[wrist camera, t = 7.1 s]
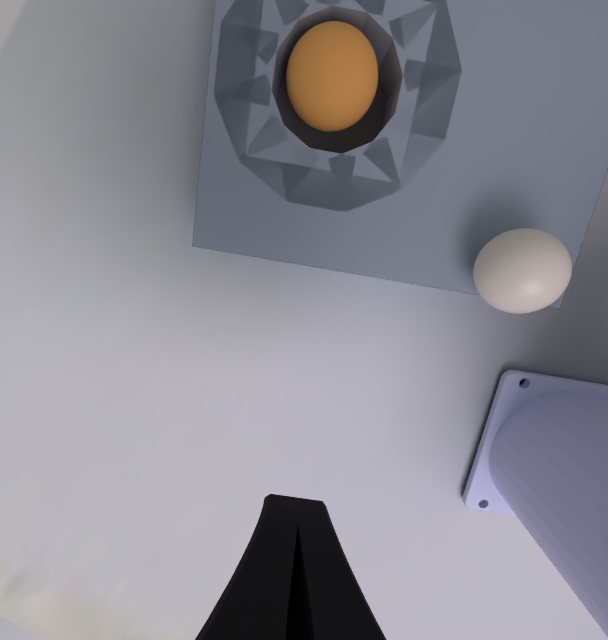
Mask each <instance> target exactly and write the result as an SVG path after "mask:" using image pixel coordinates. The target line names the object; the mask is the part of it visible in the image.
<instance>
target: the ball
mask: <svg viewBox="0 0 608 640" xmlns="http://www.w3.org/2000/svg"><path fill="white" fill-rule="evenodd" d="M377 84H378V63H377V59H376V55H375V52H374V49H373V47H372V45H371V44H370V42H369V40H368V39H367V38H366V36H365V35H364V34H363V33H362V32H361V31H360V30H358V29H357V28H355V27H354V26H352V25H350V24H348V23H344V22H340V21H328V22H324V23H321V24H318V25H316V26H314V27H313V28H311V29H310V30H308V31H307V32H306V33H305V34H304V35H303V36H302V37H301V38H300V39H299V40H298V42H297V43H296V45H295V47H294V49H293V51H292V53H291V55H290V58H289V61H288V66H287V72H286V85H287V92H288V96H289V99H290V102H291V104H292V106H293V108H294V110H295V112H296V113H297V114H298V116H299V117H300V118H301V119H302V120H303V121H304V122H305V123H307V124H308V125H309V126H311V127H313V128H315V129H318V130H320V131H326V132H334V131H340V130H343V129H346V128H348V127H350V126H352V125H353V124H355V123H356V122H357V121H358V120H360V119H361V118H362V116H363V115H364V114H365V113H366V112H367V110H368V109H369V107H370V105H371V103H372V101H373V99H374V96H375V93H376V90H377Z"/></svg>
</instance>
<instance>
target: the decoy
mask: <svg viewBox="0 0 608 640" xmlns="http://www.w3.org/2000/svg"><path fill="white" fill-rule="evenodd" d="M571 274H572V263H571V258H570V255H569V252H568V250H567V249H566V247H565V246H564V245H563V243H562V242H561V241H560V240H559V239H557V238H556V237H555V236H553V235H551V234H550V233H547V232H545V231H542V230H538V229H532V228H520V229H513V230H510V231H506V232H504V233H502V234H499V235H498V236H496V237H494V238H493V239H492V240H490V241H489V242H488V243H487V244H486V245H485V246H484V247H483V248H482V249H481V251H480V252H479V254H478V256H477V258H476V261H475V264H474V268H473V279H474V284H475V287H476V289H477V291H478V293H479V294H480V296H481V297H482V298H483V299H484V300H485V301H486V302H487V303H488V304H489V305H491V306H493V307H494V308H496V309H498V310H501V311H504V312H508V313H517V314H520V313H530V312H534V311H538V310H540V309H543V308H545V307H547V306H549V305H550V304H552V303H553V302H554V301H556V300H557V299H558V298H559V297H560V296H561V295H562V294H563V292H564V291H565V289H566V288H567V286H568V284H569V281H570V278H571Z"/></svg>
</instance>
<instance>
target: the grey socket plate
mask: <svg viewBox="0 0 608 640" xmlns="http://www.w3.org/2000/svg"><path fill="white" fill-rule="evenodd" d="M328 21H340V22H344V23H348V24H350V25H352V26H354V27H355V28H357V29H358V30H360V31H361V32H362V33H363V34H364V35H365V36H366V38H367V39H368V40H369V42H370V44H371V45H372V47H373V49H374V52H375V55H376V59H377V63H378V71H379V75H380V78H381V82H382V85H383V89H384V92H385V96H386V100H387V103H386V108H385V113H384V118H383V123H382V128H381V132H380V133H379V134H378V136H377V137H376V138H375V139H374V141H373V142H370V143H368V144H365V145H363V146H360V147H357V148H355V149H352V150H350V151H347V152H345V153H342V154H340V153H335V152H329V151H324V150H318V149H313V148H309V147H308V146H307V145H306V144H305V143H303V142H302V141H301V140H300V139H299V138H298V137H297V136H296V135H295V134H293V133H292V132H291V131H290V130H289V129H288V128H287V127H286V126H285V125H284V124H283V121H282V118H281V115H280V113H279V110H278V107H277V104H278V97H279V90H280V83H281V79H282V78H283V77H284V75H285V74H286V72H287V66H288V61H289V58H290V55H291V53H292V51H293V49H294V47H295V45H296V43H297V42H298V40H299V39H300V38H301V37H302V36H303V35H304V34H305V33H306V32H307V31H308V30H310V29H311V28H313V27H314V26H316V25H318V24H321V23H324V22H328ZM607 170H608V0H215V10H214V20H213V31H212V41H211V52H210V63H209V73H208V84H207V94H206V105H205V116H204V126H203V137H202V147H201V158H200V168H199V179H198V190H197V200H196V211H195V221H194V232H193V243H192V246H194V247H200V248H206V249H212V250H218V251H224V252H229V253H235V254H241V255H247V256H253V257H259V258H264V259H270V260H276V261H282V262H288V263H294V264H300V265H305V266H311V267H317V268H323V269H329V270H335V271H340V272H346V273H352V274H358V275H364V276H370V277H376V278H381V279H387V280H393V281H399V282H405V283H411V284H416V285H422V286H428V287H434V288H440V289H446V290H451V291H457V292H463V293H469V294H475V295H480V294H479V293H478V291H477V289H476V287H475V284H474V279H473V268H474V264H475V261H476V258H477V256H478V254H479V252H480V251H481V249H482V248H483V247H484V246H485V245H486V244H487V243H488V242H489V241H490V240H492V239H493V238H494V237H496V236H498V235H499V234H502V233H504V232H506V231H510V230H513V229H520V228H532V229H538V230H542V231H545V232H547V233H550V234H551V235H553V236H555V237H556V238H557V239H559V240H560V241H561V242H562V243H563V245H564V246H565V247H566V249H567V250H568V252H569V255H570V258H571V263H572V271H573V268H574V266H575V263H576V260H577V257H578V254H579V251H580V248H581V245H582V242H583V240H584V237H585V234H586V231H587V228H588V225H589V222H590V219H591V216H592V214H593V211H594V208H595V205H596V202H597V199H598V196H599V193H600V190H601V188H602V185H603V182H604V179H605V176H606V173H607ZM566 289H567V288H566ZM566 289H565V291H564V292H563V294H562V295H561V296H560V297H559V298H558V299H557V300H556V301H554V302H553V303H552V304H550V305H549V306H547V307H551V308H557V309H560V306H561V303H562V300H563V297H564V294H565V292H566Z"/></svg>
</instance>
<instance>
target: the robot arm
mask: <svg viewBox="0 0 608 640" xmlns="http://www.w3.org/2000/svg"><path fill="white" fill-rule="evenodd" d="M522 379H525V382H524V383H523V384H522V385H519V382H520V381H521V380H522ZM462 500H463V503H464V504H465V506H466V507H467V508H468V509H471V510H476V511H483V512H490V513H497V514H504V515H511V516H517V517H518V518H519V520H520V521H521V522H522V524H523V525H524V526H525V528H526V529H527V530H528V532H529V533H530V534H531V536H532V537H533V538H534V540H535V541H536V542H537V544H538V545H539V546H540V548H541V549H542V550H543V552H544V553H545V554H546V556H547V557H548V558H549V559H550V561H551V562H552V563H553V565H554V566H555V567H556V569H557V570H558V571H559V573H560V574H561V575H562V577H563V578H564V579H565V581H566V582H567V583H568V585H569V586H570V587H571V589H572V590H573V591H574V593H575V594H576V595H577V597H578V598H579V599H580V601H581V602H582V603H583V605H584V606H585V607H586V609H587V610H588V611H589V613H590V614H591V615H592V617H593V618H594V619H595V621H596V622H597V623H598V625H599V626H600V627H601V628H602V630H603V631H604V632H605V634H606V635H607V636H608V385H605V384H599V383H593V382H586V381H580V380H574V379H568V378H562V377H556V376H549V375H543V374H537V373H531V372H525V371H519V370H508V371H506V372H505V373H503V375H502V376H501V379H500V382H499V385H498V388H497V391H496V394H495V398H494V401H493V404H492V407H491V410H490V413H489V416H488V419H487V422H486V426H485V429H484V432H483V435H482V438H481V441H480V444H479V447H478V450H477V454H476V457H475V460H474V463H473V466H472V469H471V472H470V475H469V478H468V481H467V485H466V488H465V491H464V494H463V498H462ZM481 500H484V501H483V502H481V503H479V502H480V501H481ZM195 640H386V638H385V636H384V634H383V632H382V630H381V629H380V627H379V625H378V623H377V621H376V619H375V617H374V615H373V613H372V611H371V609H370V607H369V605H368V603H367V601H366V599H365V597H364V595H363V593H362V591H361V589H360V587H359V585H358V583H357V580H356V578H355V576H354V574H353V572H352V570H351V568H350V566H349V563H348V561H347V559H346V557H345V554H344V552H343V549H342V547H341V545H340V542H339V540H338V538H337V535H336V532H335V530H334V527H333V525H332V522H331V519H330V517H329V514H328V511H327V508H326V506H325V504H324V503H323V501H317V500H310V499H303V498H296V497H289V496H282V495H275V494H270V495H268V496H266V497H265V499H264V504H263V508H262V511H261V515H260V517H259V520H258V523H257V525H256V528H255V530H254V533H253V535H252V537H251V539H250V542H249V544H248V546H247V548H246V550H245V552H244V554H243V556H242V558H241V560H240V562H239V564H238V566H237V568H236V570H235V572H234V574H233V576H232V578H231V580H230V581H229V583H228V585H227V587H226V588H225V590H224V592H223V594H222V595H221V597H220V599H219V601H218V602H217V604H216V606H215V607H214V609H213V611H212V613H211V614H210V616H209V618H208V620H207V621H206V623H205V624H204V626H203V628H202V629H201V631H200V633H199V634H198V636H197V637H196V639H195Z"/></svg>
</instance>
